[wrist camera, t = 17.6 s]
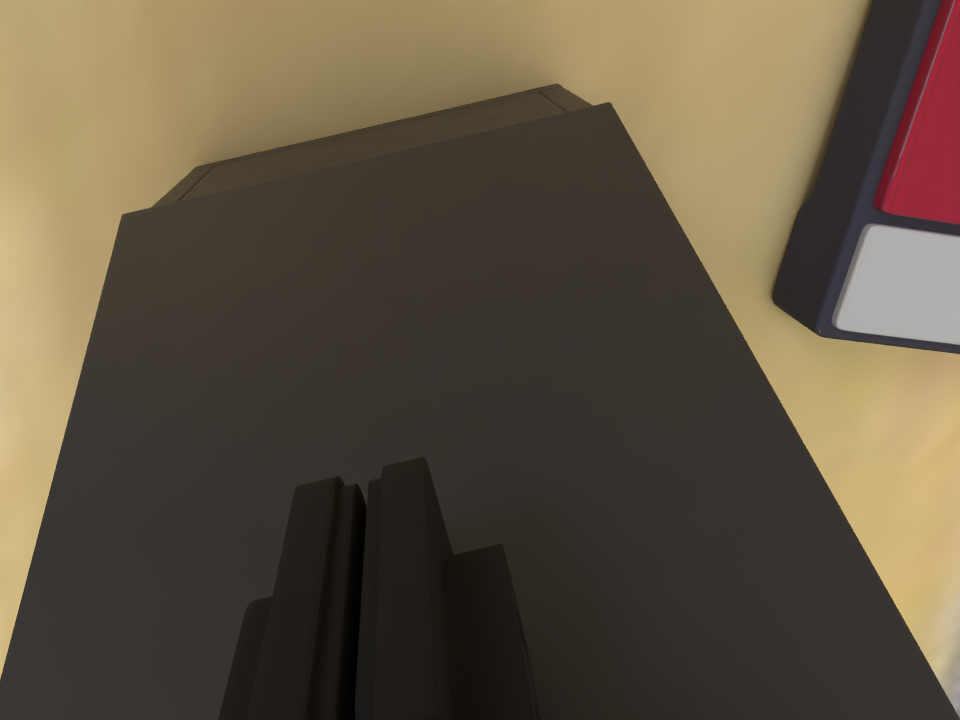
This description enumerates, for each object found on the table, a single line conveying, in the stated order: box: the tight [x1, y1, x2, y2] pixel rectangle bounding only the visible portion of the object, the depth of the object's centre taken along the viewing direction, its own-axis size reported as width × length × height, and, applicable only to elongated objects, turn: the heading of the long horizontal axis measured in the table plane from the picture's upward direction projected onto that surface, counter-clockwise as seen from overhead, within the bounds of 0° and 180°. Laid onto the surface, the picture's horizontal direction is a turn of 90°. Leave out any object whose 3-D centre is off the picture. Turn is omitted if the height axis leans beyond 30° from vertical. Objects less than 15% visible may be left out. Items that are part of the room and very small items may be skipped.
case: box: [151, 84, 593, 208], centre depth 27 cm, size 16×13×7 cm
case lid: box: [0, 102, 960, 720], centre depth 14 cm, size 16×13×1 cm
